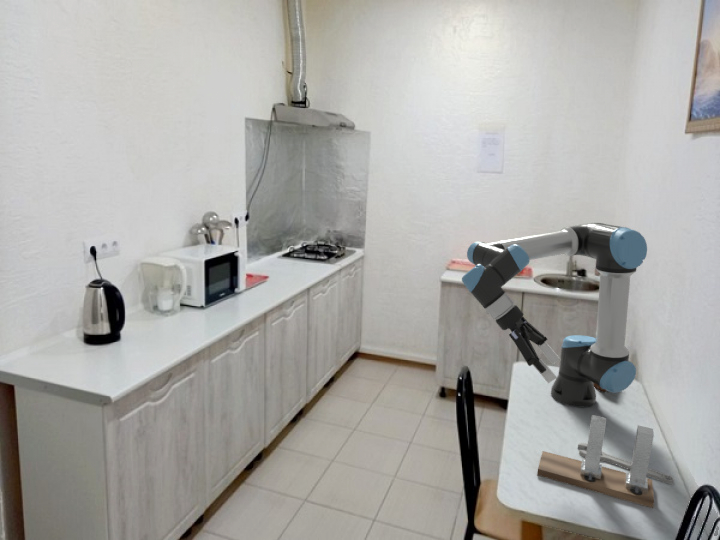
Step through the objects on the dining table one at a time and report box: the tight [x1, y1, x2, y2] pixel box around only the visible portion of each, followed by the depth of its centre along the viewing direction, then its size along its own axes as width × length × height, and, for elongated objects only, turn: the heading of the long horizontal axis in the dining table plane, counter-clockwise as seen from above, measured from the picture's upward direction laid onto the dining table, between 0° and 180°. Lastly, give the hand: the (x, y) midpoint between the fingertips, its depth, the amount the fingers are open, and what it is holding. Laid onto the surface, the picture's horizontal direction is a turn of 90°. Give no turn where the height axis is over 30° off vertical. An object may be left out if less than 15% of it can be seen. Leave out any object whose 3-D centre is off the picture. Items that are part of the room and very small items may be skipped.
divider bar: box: [536, 450, 655, 509], centre depth 143 cm, size 10×28×2 cm, turn 64°
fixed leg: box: [625, 424, 655, 493], centre depth 136 cm, size 7×5×16 cm
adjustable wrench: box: [577, 442, 675, 485], centre depth 150 cm, size 25×6×2 cm, turn 49°
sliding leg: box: [580, 414, 607, 480], centre depth 140 cm, size 7×5×16 cm
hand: (554, 370), depth 149 cm, fingers open, 13 cm apart
